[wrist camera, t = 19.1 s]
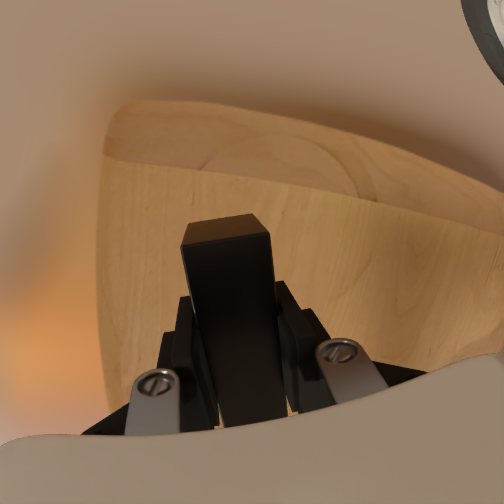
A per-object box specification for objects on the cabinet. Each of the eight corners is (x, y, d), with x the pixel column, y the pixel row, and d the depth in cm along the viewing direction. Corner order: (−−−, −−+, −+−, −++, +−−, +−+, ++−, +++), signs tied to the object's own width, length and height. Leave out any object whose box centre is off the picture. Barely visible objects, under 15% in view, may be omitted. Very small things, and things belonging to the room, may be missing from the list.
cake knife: (187, 222, 11) (174, 260, 7) (253, 212, 11) (280, 243, 7) (250, 489, 16) (260, 540, 12) (285, 482, 16) (299, 533, 12)
